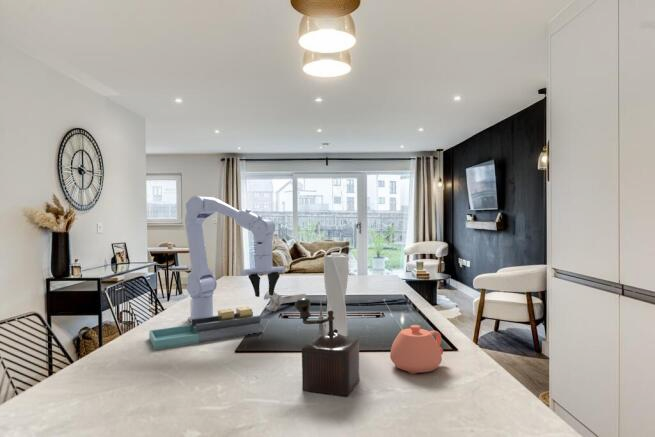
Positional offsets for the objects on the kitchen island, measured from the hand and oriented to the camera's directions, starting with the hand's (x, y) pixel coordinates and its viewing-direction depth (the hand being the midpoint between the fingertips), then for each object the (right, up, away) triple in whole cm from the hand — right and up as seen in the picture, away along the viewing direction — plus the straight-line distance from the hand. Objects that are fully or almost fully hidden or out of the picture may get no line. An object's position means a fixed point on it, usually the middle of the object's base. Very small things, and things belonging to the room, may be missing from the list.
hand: (264, 295), depth 139 cm
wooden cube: (-6, -8, -3) cm, 10 cm away
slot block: (-11, -11, -6) cm, 17 cm away
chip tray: (-25, -11, -14) cm, 31 cm away
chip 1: (-11, -8, -6) cm, 15 cm away
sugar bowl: (+43, -11, -37) cm, 58 cm away
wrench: (+4, -10, +31) cm, 33 cm away
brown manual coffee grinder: (+20, -11, -46) cm, 51 cm away
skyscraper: (+23, -11, -16) cm, 31 cm away
